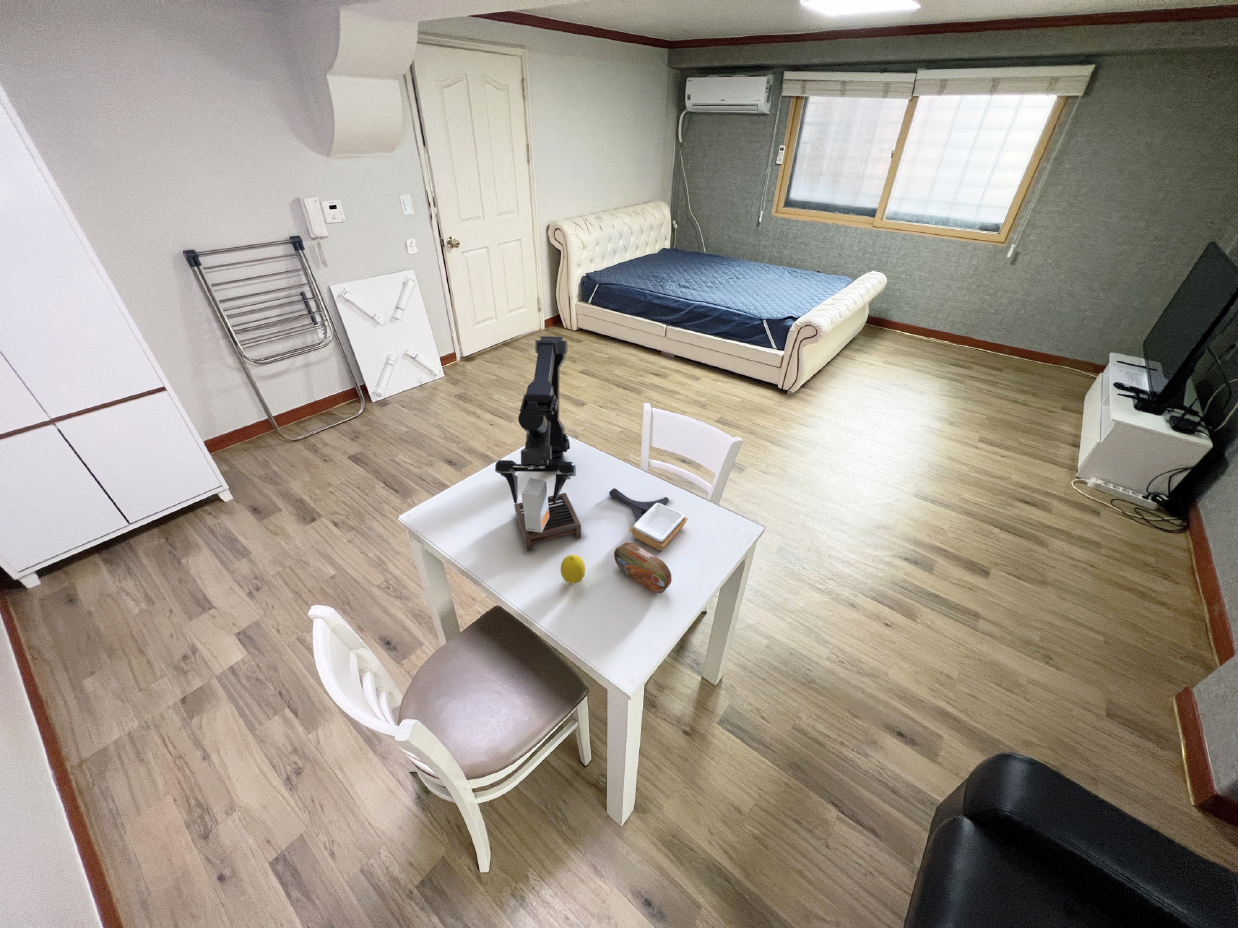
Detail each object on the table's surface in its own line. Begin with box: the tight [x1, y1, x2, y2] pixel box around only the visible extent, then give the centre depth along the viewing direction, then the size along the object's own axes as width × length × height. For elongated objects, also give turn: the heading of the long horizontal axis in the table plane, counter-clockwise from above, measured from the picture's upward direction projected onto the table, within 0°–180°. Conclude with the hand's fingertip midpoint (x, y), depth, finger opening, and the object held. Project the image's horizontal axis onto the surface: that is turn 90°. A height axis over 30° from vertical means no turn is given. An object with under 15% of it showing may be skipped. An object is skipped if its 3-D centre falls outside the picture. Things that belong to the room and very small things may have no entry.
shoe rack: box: [513, 492, 582, 552], centre depth 126 cm, size 14×14×4 cm
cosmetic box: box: [521, 477, 549, 533], centre depth 118 cm, size 6×4×12 cm
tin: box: [613, 541, 672, 594], centre depth 111 cm, size 15×3×8 cm, turn 49°
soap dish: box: [629, 503, 689, 552], centre depth 124 cm, size 12×10×5 cm
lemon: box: [560, 554, 586, 585], centre depth 111 cm, size 6×6×8 cm
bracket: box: [608, 487, 669, 524], centre depth 134 cm, size 14×15×3 cm
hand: (534, 503), depth 117 cm, fingers open, 9 cm apart
